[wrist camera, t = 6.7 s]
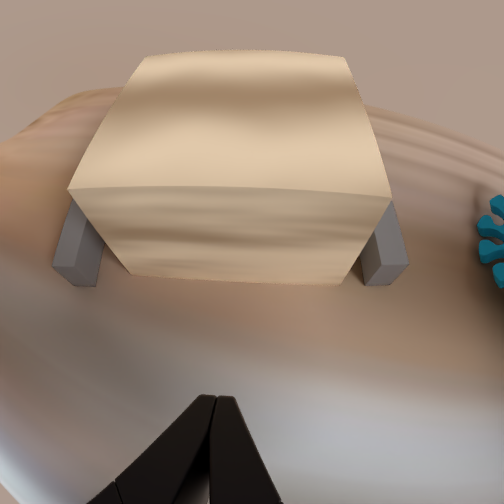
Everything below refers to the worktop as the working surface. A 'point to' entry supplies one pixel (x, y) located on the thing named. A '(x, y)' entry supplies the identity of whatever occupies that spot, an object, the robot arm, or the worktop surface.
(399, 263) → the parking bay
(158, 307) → the worktop surface
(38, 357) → the worktop surface
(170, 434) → the robot arm
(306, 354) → the worktop surface
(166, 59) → the oak block
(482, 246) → the gear
